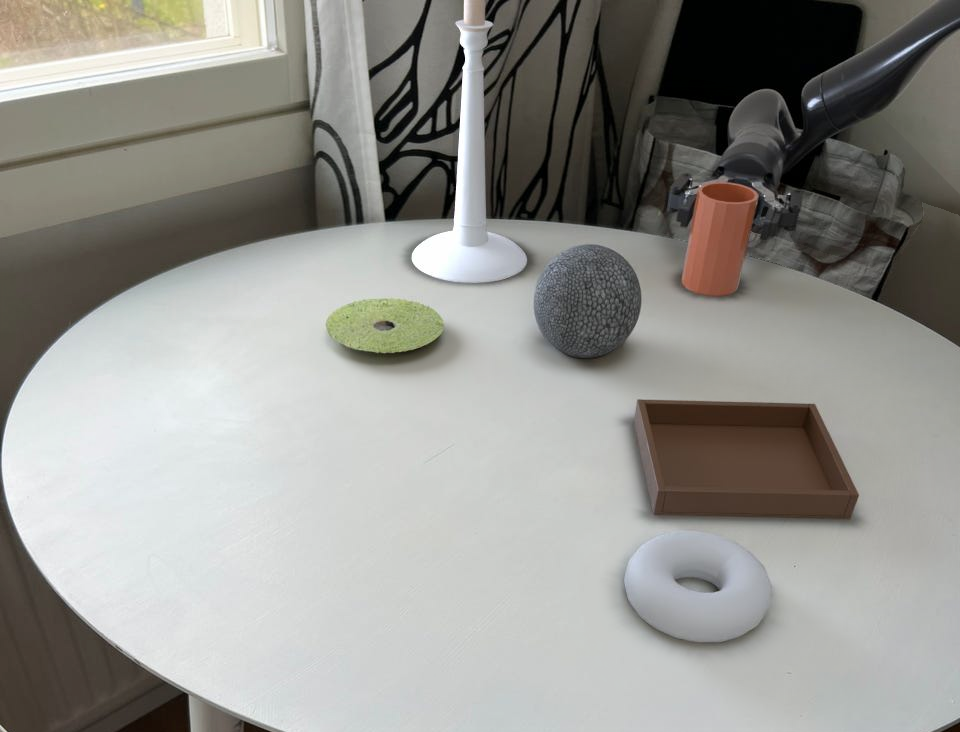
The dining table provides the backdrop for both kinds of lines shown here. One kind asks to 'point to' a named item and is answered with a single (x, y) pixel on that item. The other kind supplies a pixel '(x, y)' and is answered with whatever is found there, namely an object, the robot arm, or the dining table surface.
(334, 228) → the dining table surface
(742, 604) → the donut
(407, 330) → the green disc
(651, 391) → the dining table surface
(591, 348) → the decorative ball
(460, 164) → the candlestick
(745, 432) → the tray
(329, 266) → the dining table surface
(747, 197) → the cup
